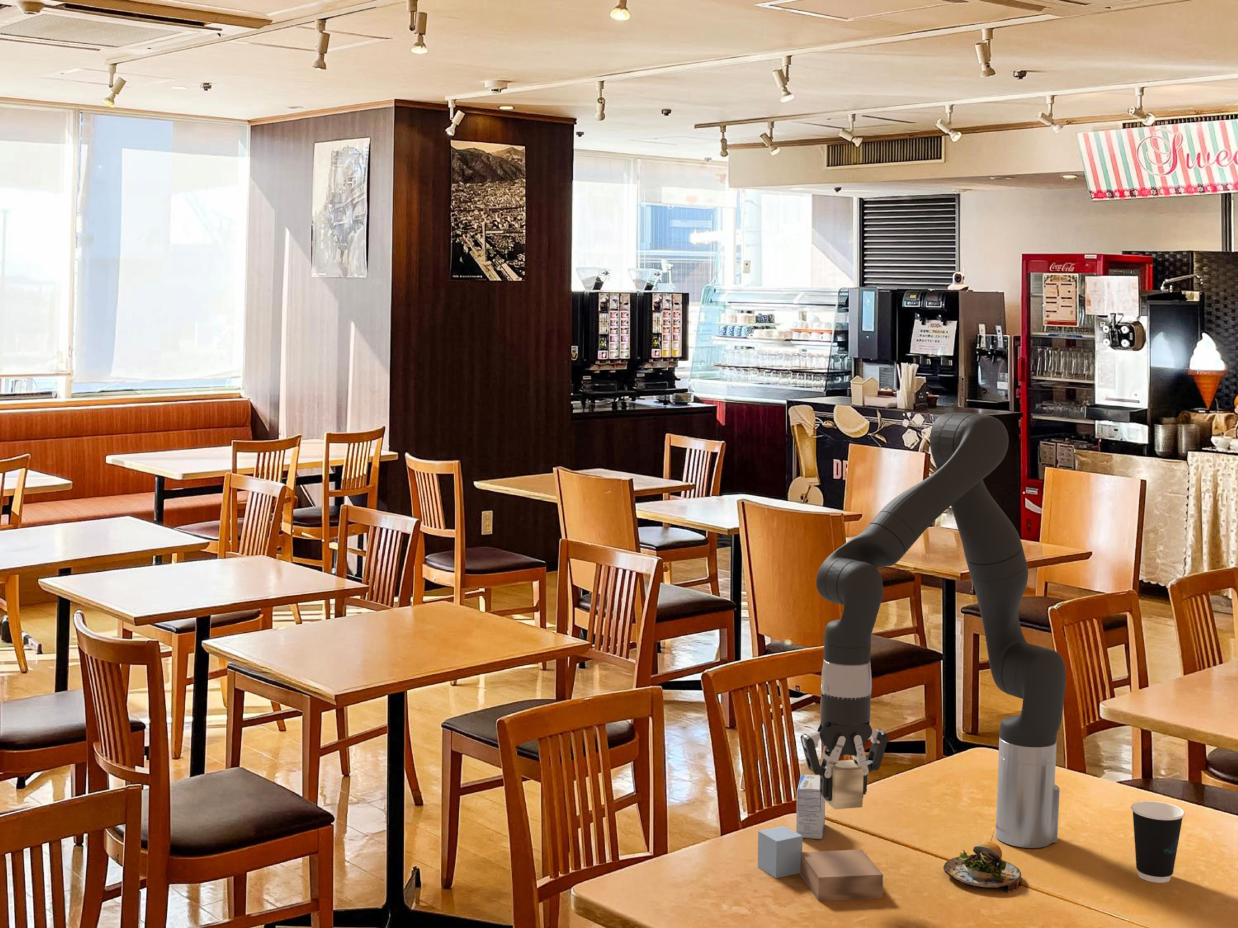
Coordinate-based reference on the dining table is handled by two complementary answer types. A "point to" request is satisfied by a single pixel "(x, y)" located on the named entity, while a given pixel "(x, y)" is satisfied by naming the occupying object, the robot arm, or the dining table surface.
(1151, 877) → the dixie cup
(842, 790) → the oak block
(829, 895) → the walnut block
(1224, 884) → the dining table surface
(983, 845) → the burger
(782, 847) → the slate block
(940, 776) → the dining table surface
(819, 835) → the medicine box
